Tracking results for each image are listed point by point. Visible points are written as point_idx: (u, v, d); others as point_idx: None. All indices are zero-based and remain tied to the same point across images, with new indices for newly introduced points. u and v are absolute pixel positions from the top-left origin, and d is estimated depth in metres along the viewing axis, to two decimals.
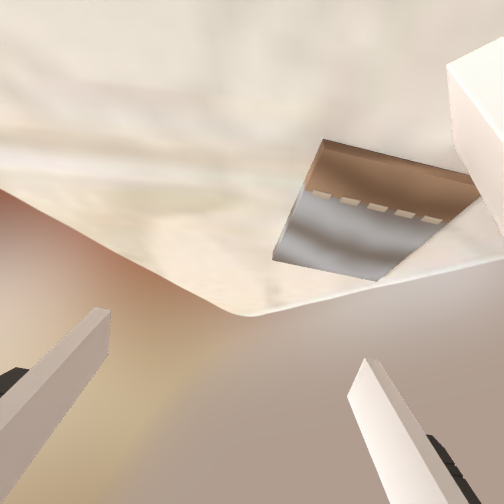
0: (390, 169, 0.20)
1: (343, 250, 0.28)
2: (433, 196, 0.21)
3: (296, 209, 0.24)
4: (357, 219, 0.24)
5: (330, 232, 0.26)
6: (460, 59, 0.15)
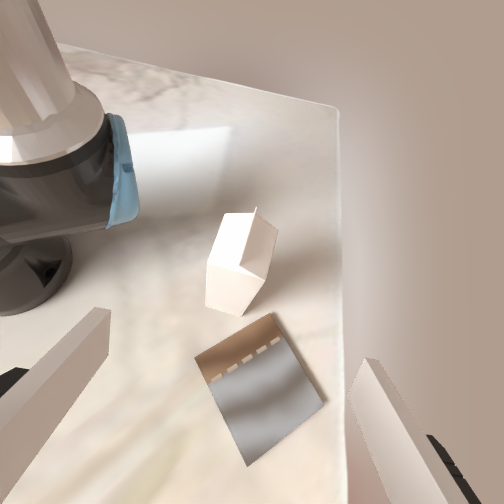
0: (228, 340, 0.40)
1: (271, 401, 0.37)
2: (258, 333, 0.41)
3: (215, 400, 0.36)
4: (249, 373, 0.38)
5: (248, 396, 0.37)
6: None
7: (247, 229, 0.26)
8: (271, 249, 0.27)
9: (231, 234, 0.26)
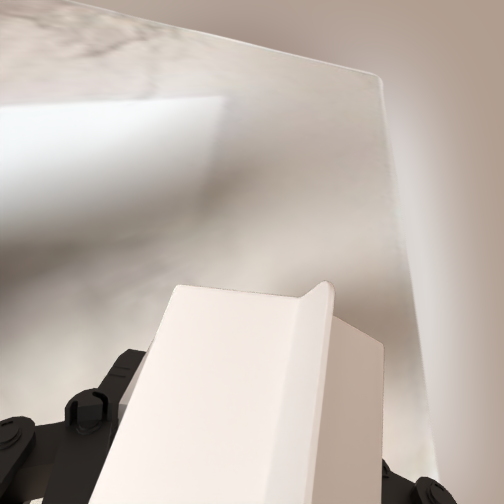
0: None
1: None
2: None
3: None
4: None
5: None
6: None
7: (274, 401, 0.05)
8: (377, 456, 0.06)
9: (189, 415, 0.05)
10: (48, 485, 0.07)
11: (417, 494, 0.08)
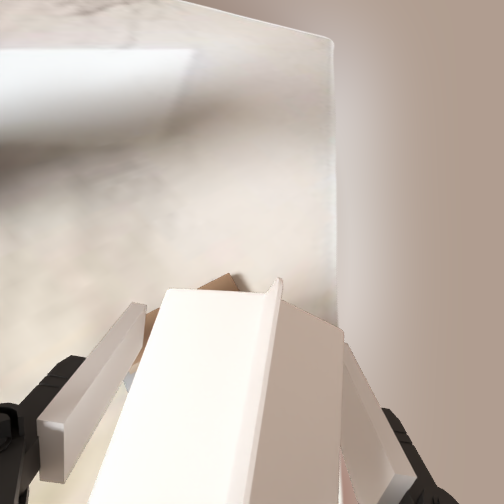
0: None
1: None
2: None
3: None
4: None
5: None
6: None
7: (244, 373, 0.06)
8: (335, 419, 0.07)
9: (180, 390, 0.07)
10: None
11: None
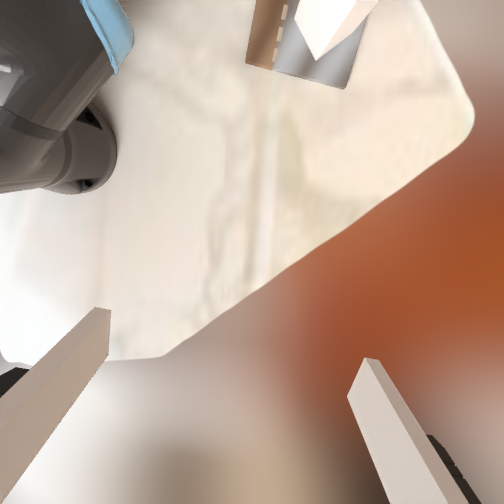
0: (256, 15, 0.36)
1: None
2: None
3: (288, 71, 0.38)
4: (296, 23, 0.36)
5: None
6: (313, 56, 0.37)
7: None
8: None
9: None
10: None
11: None
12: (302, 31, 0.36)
